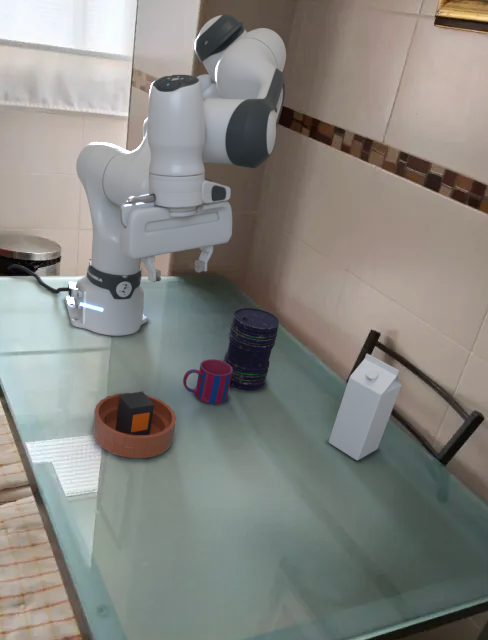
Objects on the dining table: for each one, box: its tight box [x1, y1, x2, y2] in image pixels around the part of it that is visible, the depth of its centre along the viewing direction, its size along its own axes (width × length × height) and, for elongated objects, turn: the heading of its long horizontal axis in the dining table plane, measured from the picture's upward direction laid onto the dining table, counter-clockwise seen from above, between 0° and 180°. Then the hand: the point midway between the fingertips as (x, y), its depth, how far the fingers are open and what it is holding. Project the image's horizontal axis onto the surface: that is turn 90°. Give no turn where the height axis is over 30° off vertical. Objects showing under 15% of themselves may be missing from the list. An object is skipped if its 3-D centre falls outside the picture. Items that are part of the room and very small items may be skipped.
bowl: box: [92, 392, 177, 459], centre depth 118 cm, size 14×14×5 cm
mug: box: [182, 358, 233, 405], centre depth 133 cm, size 7×10×7 cm
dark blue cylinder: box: [223, 307, 280, 392], centre depth 140 cm, size 10×10×15 cm
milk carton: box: [328, 353, 402, 461], centre depth 124 cm, size 7×7×19 cm
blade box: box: [116, 390, 154, 435], centre depth 116 cm, size 5×5×8 cm
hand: (178, 276), depth 111 cm, fingers open, 8 cm apart
